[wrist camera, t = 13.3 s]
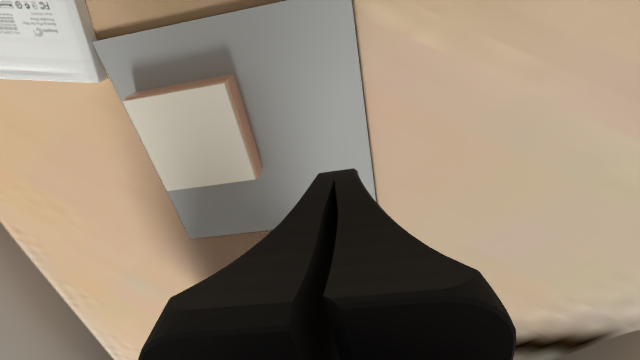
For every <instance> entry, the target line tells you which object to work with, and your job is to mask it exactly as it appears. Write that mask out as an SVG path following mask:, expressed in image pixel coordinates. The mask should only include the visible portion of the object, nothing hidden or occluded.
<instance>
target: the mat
mask: <svg viewBox="0 0 640 360" xmlns="http://www.w3.org/2000/svg"><path fill="white" fill-rule="evenodd" d="M92 43H93V45H94V47H95V49H96V51H97V53H98V55H99V57H100V59H101V61H102V63H103V65H104V67H105V69H106V71H107V73H108V75H109V77H110V79H111V81H112V83H113V85H114V87H115V89H116V91H117V93H118V95H119V97H120V99H121V101H122V103H123V101H124V99H123V98H125V97H127V96H129V95H130V94H132V93H134V92H137V91H142V90H148V89H153V88H158V87H164V86H169V85H175V84H180V83H186V82H191V81H196V80H202V79H207V78H213V77H218V76H224V75H229V74H234V76H235V79H236V82H237V86H238V89H239V92H240V95H241V98H242V102H243V105H244V108H245V111H246V115H247V118H248V121H249V124H250V128H251V131H252V134H253V137H254V140H255V144H256V147H257V150H258V153H259V157H260V160H261V163H262V166H263V169H262V171H261V174H260V176H259V178H256V179H254V180H247V181H240V182H232V183H225V184H217V185H210V186H202V187H195V188H187V189H180V190H173V191H167V190H166V188H165V186H164V184H163V182H162V180H161V178H160V176H159V174H158V172H157V170H156V168H155V166H154V164H153V162H152V160H151V158H150V160H151V162H152V164H153V166H154V168H155V170H156V172H157V174H158V176H159V178H160V180H161V182H162V184H163V186H164V188H165V190H166V192H167V194H168V196H169V198H170V200H171V202H172V204H173V206H174V208H175V210H176V212H177V214H178V216H179V218H180V220H181V222H182V224H183V226H184V228H185V230H186V232H187V234H188V236H189V238H190V239H195V238H204V237H213V236H222V235H231V234H240V233H249V232H258V231H267V230H273V229H274V228H275V227H276V226H277V225H278V224H279V223H280V222H281V221H282V220H283V219H284V218H285V217H286V216H287V215H288V213H289V212H290V211H291V210H292V209H293V208H294V206H295V205H296V204H297V202H298V201H299V200H300V199H301V197H302V196H303V195H304V193H305V192H306V190H307V189H308V188H309V186H310V185H311V183H312V182H313V180H314V179H315V177H316V176H317V175H318V174H319V173H324V172H331V171H338V170H345V169H353V168H354V169H356V170H357V171H358V175H359V177H360V179H361V181H362V183H363V185H364V186H365V188H366V189H367V191H368V192H369V193H370V195H371V196H372V198H373V199H374V200H375V201H376V197H375V189H374V181H373V172H372V164H371V156H370V148H369V139H368V131H367V123H366V115H365V106H364V98H363V90H362V82H361V74H360V65H359V57H358V49H357V41H356V32H355V24H354V16H353V8H352V0H285V1H281V2H276V3H271V4H267V5H262V6H257V7H253V8H248V9H243V10H239V11H234V12H229V13H225V14H220V15H215V16H210V17H206V18H201V19H196V20H192V21H187V22H182V23H178V24H173V25H168V26H164V27H159V28H154V29H150V30H145V31H140V32H135V33H131V34H126V35H121V36H117V37H112V38H107V39H103V40H98V41H94V42H92ZM123 105H124V104H123ZM124 107H125V106H124ZM125 109H126V108H125ZM126 111H127V110H126ZM127 113H128V112H127ZM128 115H129V114H128ZM129 117H130V116H129ZM130 119H131V118H130ZM131 121H132V120H131ZM132 123H133V122H132ZM133 125H134V124H133ZM134 127H135V126H134ZM135 129H136V128H135ZM136 131H137V130H136ZM137 133H138V132H137ZM138 135H139V134H138ZM139 137H140V136H139ZM140 139H141V138H140ZM141 141H142V140H141ZM142 143H143V142H142ZM143 145H144V144H143ZM144 147H145V146H144ZM145 149H146V148H145ZM146 151H147V150H146ZM147 153H148V152H147ZM148 155H149V154H148ZM149 157H150V156H149Z"/></svg>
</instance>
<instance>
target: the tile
mask: <svg viewBox="0 0 640 360" xmlns="http://www.w3.org/2000/svg"><path fill="white" fill-rule="evenodd" d="M123 99H124V101H123V104H124V106H125V108H126V110H127V112H128V114H129V116H130V118H131V120H132V122H133V124H134V126H135V128H136V130H137V132H138V134H139V136H140V138H141V140H142V142H143V144H144V146H145V148H146V150H147V152H148V154H149V156H150V158H151V160H152V162H153V164H154V166H155V168H156V170H157V172H158V174H159V176H160V178H161V180H162V182H163V184H164V186H165V188H166V190H167V191H173V190H180V189H187V188H195V187H202V186H210V185H217V184H225V183H232V182H240V181H247V180H254V179H256V178H259V176H260V174H261V171H262V169H263V166H262V163H261V160H260V157H259V153H258V150H257V147H256V144H255V140H254V137H253V134H252V131H251V128H250V124H249V121H248V118H247V115H246V111H245V108H244V105H243V102H242V98H241V95H240V92H239V89H238V86H237V82H236V79H235V76H234V74H229V75H224V76H218V77H213V78H207V79H202V80H196V81H191V82H186V83H180V84H175V85H169V86H164V87H158V88H153V89H148V90H142V91H137V92H134V93H132V94H130V95H129V96H127V97H125V98H123Z"/></svg>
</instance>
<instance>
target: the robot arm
mask: <svg viewBox="0 0 640 360" xmlns="http://www.w3.org/2000/svg"><path fill="white" fill-rule="evenodd" d="M515 345H516V329H515V327H514V325H513V323H512V320H511V318H510V316H509V314H508V312H507V310H506V309H505V307H504V305H503V304H502V302H501V301H500V299H499V298H498V296H497V295H496V293H495V292H494V291H493V289H492V288H491V286H490V285H489V284H488V282H487V281H486V280H485V278H484V277H483V276H482V274H481V273H480V272H479V271H478V270H476V269H473V268H471V267H469V266H467V265H465V264H462V263H460V262H458V261H456V260H453V259H451V258H449V257H447V256H445V255H443V254H441V253H439V252H438V251H436V250H434V249H432V248H430V247H429V246H427V245H425V244H424V243H422V242H421V241H419V240H418V239H416V238H415V237H413V236H412V235H411V234H409V233H408V232H407V231H406V230H404V229H403V228H402V227H401V226H399V225H398V224H397V223H396V222H395V221H394V220H393V219H392V218H391V217H389V216H388V215H387V214H386V213H385V211H384V210H383V209H382V208H381V207H380V206H379V205H378V204H377V203H376V201H375V200H374V199H373V198H372V196H371V195H370V193H369V192H368V191H367V189H366V188H365V186H364V185H363V183H362V181H361V179H360V177H359V175H358V171H357V170H356V169H354V168H353V169H345V170H338V171H331V172H324V173H319V174H318V175H317V176H316V177H315V179H314V180H313V182H312V183H311V185H310V186H309V188H308V189H307V190H306V192H305V193H304V195H303V196H302V197H301V199H300V200H299V201H298V202H297V204H296V205H295V206H294V208H293V209H292V210H291V211H290V212H289V213H288V215H287V216H286V217H285V218H284V219H283V220H282V221H281V222H280V223H279V224H278V225H277V226H276V227H275V228H274V229H273V230H272V231H271V232H270V233H269V234H268V235H267V236H266V237H265V238H264V239H262V240H261V241H260V242H259V243H257V244H256V245H255V246H254V247H252V248H251V249H250V250H249V251H247V252H246V253H245V254H243V255H242V256H241V257H239V258H238V259H237V260H235V261H234V262H232V263H231V264H229V265H228V266H226V267H225V268H223V269H221V270H220V271H218V272H217V273H215V274H214V275H212V276H210V277H208V278H207V279H205V280H203V281H201V282H199V283H198V284H196V285H194V286H192V287H190V288H188V289H186V290H185V291H183V292H181V293H179V294H177V295H175V296H173V297H171V298H170V299H169V301H168V303H167V304H166V306H165V308H164V310H163V311H162V313H161V315H160V317H159V319H158V321H157V322H156V324H155V326H154V328H153V330H152V332H151V333H150V335H149V337H148V339H147V341H146V343H145V344H144V346H143V348H142V350H141V353H140V356H139V358H138V360H513V356H514V350H515Z"/></svg>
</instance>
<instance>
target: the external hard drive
mask: <svg viewBox="0 0 640 360" xmlns="http://www.w3.org/2000/svg"><path fill="white" fill-rule="evenodd" d="M94 41H97V40H96V37H95V33H94V30H93V26H92V23H91V20H90V16H89V13H88V10H87V6H86V3H85V0H0V79H20V80H40V81H62V82H83V83H96V82H101V81H103V80H106V79H108V77H107V74H106V70H105V67H104V65H103V63H102V61H101V59H100V57H99V55H98V53H97V51H96V49H95V47H94V45H93V43H92V42H94Z"/></svg>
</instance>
